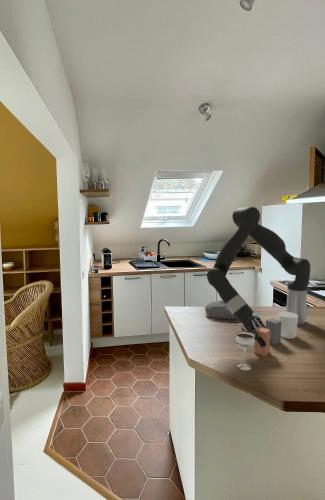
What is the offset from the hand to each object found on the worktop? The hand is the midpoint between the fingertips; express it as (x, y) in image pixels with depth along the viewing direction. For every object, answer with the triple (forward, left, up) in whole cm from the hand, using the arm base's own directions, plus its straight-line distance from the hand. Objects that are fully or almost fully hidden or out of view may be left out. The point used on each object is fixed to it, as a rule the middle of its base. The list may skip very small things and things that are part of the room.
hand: (266, 343), depth 119 cm
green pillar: (-9, -19, -4) cm, 21 cm away
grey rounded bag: (-13, -46, -5) cm, 48 cm away
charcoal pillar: (-11, -8, -4) cm, 14 cm away
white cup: (-22, -10, -4) cm, 25 cm away
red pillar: (+1, -2, -4) cm, 5 cm away
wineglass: (+15, +4, -4) cm, 16 cm away
